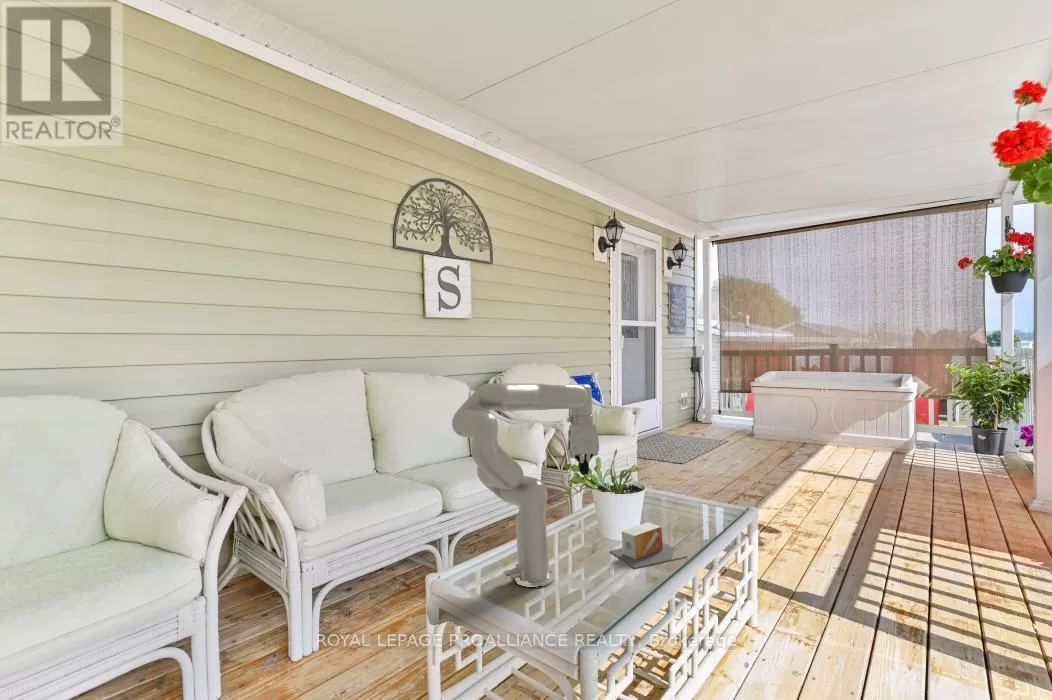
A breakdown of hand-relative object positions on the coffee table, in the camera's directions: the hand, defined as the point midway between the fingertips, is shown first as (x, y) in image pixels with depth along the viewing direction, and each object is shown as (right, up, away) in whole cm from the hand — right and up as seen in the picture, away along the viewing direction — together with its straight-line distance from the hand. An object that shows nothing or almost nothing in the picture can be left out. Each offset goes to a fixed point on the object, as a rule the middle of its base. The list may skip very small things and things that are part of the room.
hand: (584, 473), depth 175 cm
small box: (+14, -23, -5) cm, 27 cm away
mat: (+21, -27, -3) cm, 34 cm away
